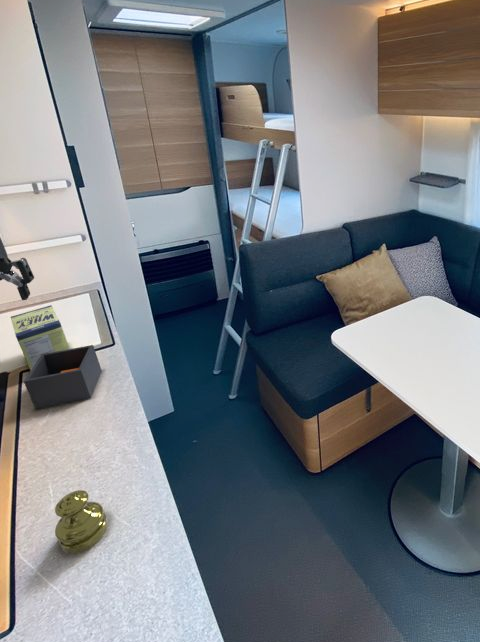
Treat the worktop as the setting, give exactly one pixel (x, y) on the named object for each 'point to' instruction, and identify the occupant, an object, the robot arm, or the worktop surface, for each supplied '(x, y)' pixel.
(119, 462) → the worktop surface
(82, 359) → the trash bin
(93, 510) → the olive gold metallic knob
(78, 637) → the worktop surface
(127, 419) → the worktop surface
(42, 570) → the worktop surface
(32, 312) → the protein box
